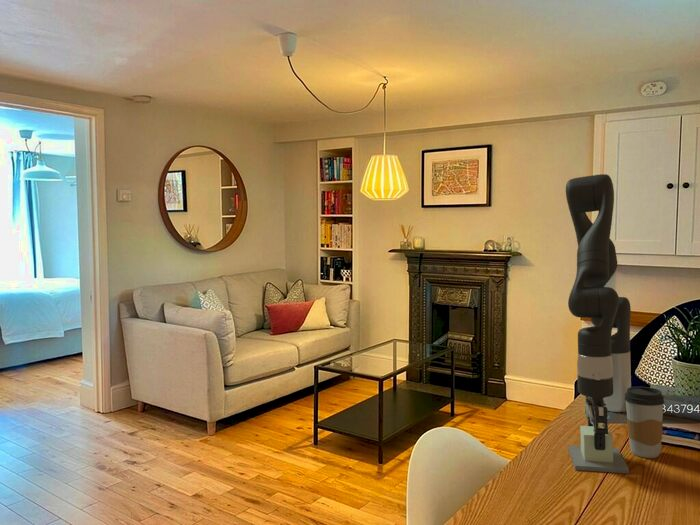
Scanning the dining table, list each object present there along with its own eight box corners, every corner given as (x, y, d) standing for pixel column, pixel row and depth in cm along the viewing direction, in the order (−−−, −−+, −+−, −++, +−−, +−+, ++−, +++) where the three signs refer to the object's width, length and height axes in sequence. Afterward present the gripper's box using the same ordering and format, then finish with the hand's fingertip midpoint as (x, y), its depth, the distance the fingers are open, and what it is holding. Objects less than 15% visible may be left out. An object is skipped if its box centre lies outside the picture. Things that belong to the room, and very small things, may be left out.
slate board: (568, 449, 135) (568, 445, 135) (617, 452, 132) (617, 447, 132) (575, 470, 123) (575, 465, 123) (629, 473, 120) (628, 468, 120)
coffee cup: (655, 446, 134) (654, 385, 134) (672, 460, 126) (671, 395, 125) (620, 446, 135) (618, 386, 134) (634, 460, 127) (632, 396, 126)
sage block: (580, 450, 131) (580, 425, 131) (608, 452, 130) (607, 427, 129) (584, 460, 125) (584, 434, 125) (613, 462, 124) (612, 436, 124)
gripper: (573, 365, 134) (574, 430, 135) (582, 381, 121) (583, 453, 121) (606, 366, 132) (608, 432, 133) (619, 382, 119) (621, 455, 119)
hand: (596, 442), depth 127 cm, fingers open, 8 cm apart
